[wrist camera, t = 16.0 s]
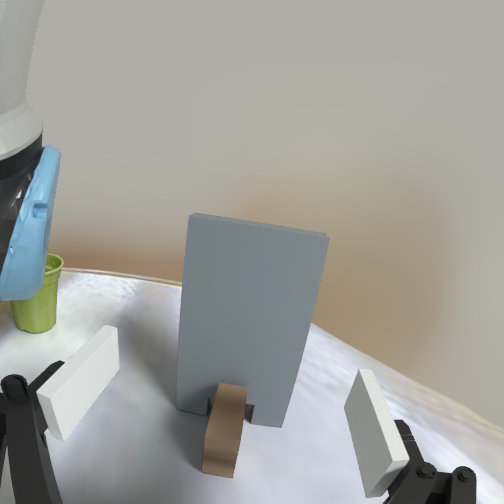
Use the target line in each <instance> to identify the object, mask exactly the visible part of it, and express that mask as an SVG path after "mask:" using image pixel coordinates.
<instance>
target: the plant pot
mask: <svg viewBox="0 0 504 504" xmlns="http://www.w3.org/2000/svg"><path fill="white" fill-rule="evenodd" d="M63 265H64V261H63V259H62V258H60V257H59V256H57V255H54V254H50V253H47V260H46V268H45V276H44V282H43V285H42V287H41V289H40V290H39V292H38V293H37V294H36V295H35V296H33V297H32V298H30V299H26V300H11V301H10V304H11V308H12V311H13V315H14V318H15V322H16V325H17V327H18V328H19V329H20V330H26V331H28V332H30V333H41V332H45V331H48V330H50V329H51V328H52V326H53V325H54V324H55V323H56V304H57V287H58V279H59V277H60V271H61V269H62V268H63Z"/></svg>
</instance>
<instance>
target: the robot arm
mask: <svg viewBox="0 0 504 504" xmlns="http://www.w3.org/2000/svg"><path fill="white" fill-rule="evenodd" d="M44 2H45V0H0V303H1V301H11V300H26V299H30V298H32V297H33V296H35V295H36V294H37V293H38V292H39V290H40V289H41V287H42V285H43V282H44V276H45V268H46V260H47V251H48V243H49V234H50V227H51V220H52V213H53V206H54V199H55V193H56V187H57V181H58V174H59V168H60V158H61V152H60V150H59V149H57V148H53V147H52V146H51V145H46V146H45V147H42V130H43V120H42V118H41V116H40V115H39V114H38V113H37V112H36V111H35V110H34V108H33V107H32V106H31V105H30V104H29V103H28V102H27V100H26V97H25V95H26V87H27V80H28V73H29V67H30V61H31V55H32V51H33V45H34V41H35V36H36V32H37V28H38V24H39V20H40V16H41V12H42V9H43V5H44ZM119 368H120V366H119V351H118V333H117V328H116V327H112V326H109V325H104V326H103V327H102V328H101V329H100V330H99V331H98V332H97V333H96V334H95V335H94V336H93V337H92V338H91V339H89V340H88V341H87V342H86V343H85V344H84V345H83V346H82V347H81V348H80V349H79V350H78V351H77V352H76V353H75V354H74V355H73V356H72V357H71V358H70V359H69V360H68V361H67V362H63V361H60V360H59V361H57V362H55V363H53V364H51V365H50V366H49V367H48V368H47V369H46V370H45V371H43V372H42V373H41V375H39V376H38V377H37V378H36V379H35V380H34V381H33V382H32V383H31V384H30V385H29V386H28V384H27V381H26V379H25V378H24V377H23V376H20V375H16V374H13V375H8V376H6V377H4V378H3V379H2V380H1V383H0V385H1V388H2V391H3V393H0V485H1V478H2V470H3V464H4V458H5V452H6V447H8V457H9V465H10V473H11V479H12V486H13V491H14V497H15V502H16V504H63V503H62V500H61V497H60V494H59V490H58V487H57V483H56V480H55V476H54V472H53V468H52V464H51V460H50V456H49V451H48V446H47V442H46V437H45V434H44V432H45V430H46V429H47V428H48V429H49V432H50V434H51V436H53V437H55V438H57V439H59V440H61V441H63V442H65V441H66V439H67V438H68V437H69V435H70V434H71V432H72V431H73V430H74V428H75V427H76V426H77V424H78V423H79V422H80V420H81V419H82V417H83V416H84V415H85V413H86V412H87V411H88V409H89V408H90V407H91V405H92V404H93V403H94V401H95V400H96V399H97V397H98V396H99V395H100V393H101V392H102V391H103V389H104V388H105V387H106V385H107V384H108V383H109V381H110V380H111V379H112V377H113V376H114V375H115V373H116V372H117V371H118V370H119ZM344 409H345V413H346V417H347V421H348V425H349V429H350V433H351V437H352V441H353V445H354V449H355V453H356V457H357V461H358V465H359V470H360V474H361V478H362V483H363V487H364V492H365V496H366V498H370V497H381V496H382V495H383V494H384V493H385V492H386V490H388V493H389V497H388V498H387V499H386V500H385V501H384V502H383V504H476V474H475V473H474V471H473V470H472V469H470V468H468V467H465V466H460V467H457V468H456V469H455V470H454V471H453V472H452V473H445V472H438V471H437V469H436V468H435V467H434V466H433V465H432V464H430V463H427V462H424V460H423V457H422V455H421V453H420V451H419V448H418V446H417V444H416V442H415V441H414V440H415V439H414V437H413V435H412V433H411V431H410V428H409V426H408V425H407V424H406V423H405V422H404V421H403V420H393V417H392V415H391V413H390V410H389V408H388V406H387V403H386V401H385V399H384V396H383V394H382V392H381V390H380V387H379V385H378V383H377V381H376V379H375V376H374V374H373V372H372V370H365V369H359V370H358V373H357V375H356V378H355V380H354V383H353V386H352V388H351V391H350V393H349V396H348V398H347V401H346V403H345V406H344Z"/></svg>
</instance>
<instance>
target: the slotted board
mask: <svg viewBox="0 0 504 504" xmlns="http://www.w3.org/2000/svg"><path fill="white" fill-rule="evenodd" d="M247 392H248V387H242V386H236V385H231V384H225V383H220V382H219V386H218V389H217V393H216V396H215V400H214V404H213V407H212V411H211V414H210V418H209V422H208V425H207V429H206V432H205V440H204V451H203V462H202V473H206V474H211V475H216V476H222V477H228V478H233V473H234V469H235V464H236V460H237V455H238V450H239V446H240V441H241V434H242V427H243V420H244V414H245V407H246V399H247Z"/></svg>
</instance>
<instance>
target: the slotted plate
mask: <svg viewBox="0 0 504 504" xmlns="http://www.w3.org/2000/svg"><path fill="white" fill-rule="evenodd" d="M328 243H329V237H328V236H327V235H326V234H325V233H319V232H313V231H307V230H301V229H295V228H290V227H283V226H277V225H271V224H265V223H259V222H252V221H246V220H239V219H234V218H227V217H221V216H214V215H207V214H200V213H194V214H192V215H190V216H189V221H188V229H187V240H186V249H185V259H184V270H183V281H182V294H181V308H180V323H179V340H178V361H177V391H176V409H178V410H182V411H187V412H191V413H195V414H200V415H205V416H206V414H207V411H208V408H209V404H210V397H211V398H215V396H216V393H217V389H218V386H219V382H220V383H225V384H231V385H236V386H242V387H248V392H247V399H246V404H251V405H253V409H252V417H251V424H257V425H264V426H272V427H282V424H283V421H284V418H285V415H286V411H287V408H288V405H289V401H290V398H291V395H292V391H293V388H294V384H295V381H296V377H297V374H298V370H299V366H300V363H301V359H302V355H303V351H304V348H305V344H306V340H307V336H308V332H309V328H310V324H311V320H312V316H313V312H314V307H315V303H316V299H317V295H318V290H319V286H320V281H321V277H322V272H323V268H324V263H325V258H326V253H327V248H328Z"/></svg>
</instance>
